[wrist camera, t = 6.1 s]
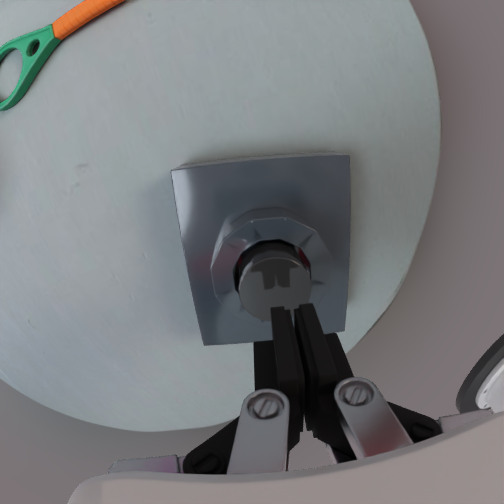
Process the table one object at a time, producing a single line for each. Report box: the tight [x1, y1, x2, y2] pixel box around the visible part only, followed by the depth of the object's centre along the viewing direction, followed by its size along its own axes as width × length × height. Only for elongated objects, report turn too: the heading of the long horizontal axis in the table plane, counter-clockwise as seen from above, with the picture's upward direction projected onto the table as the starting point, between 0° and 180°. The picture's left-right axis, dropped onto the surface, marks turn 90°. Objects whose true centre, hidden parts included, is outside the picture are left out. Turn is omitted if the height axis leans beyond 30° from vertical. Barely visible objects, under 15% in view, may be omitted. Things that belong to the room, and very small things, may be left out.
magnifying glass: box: [0, 0, 124, 111], centre depth 13 cm, size 15×6×2 cm, turn 109°
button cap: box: [239, 243, 312, 321], centre depth 15 cm, size 4×4×2 cm
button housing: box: [171, 152, 351, 346], centre depth 18 cm, size 10×12×5 cm
